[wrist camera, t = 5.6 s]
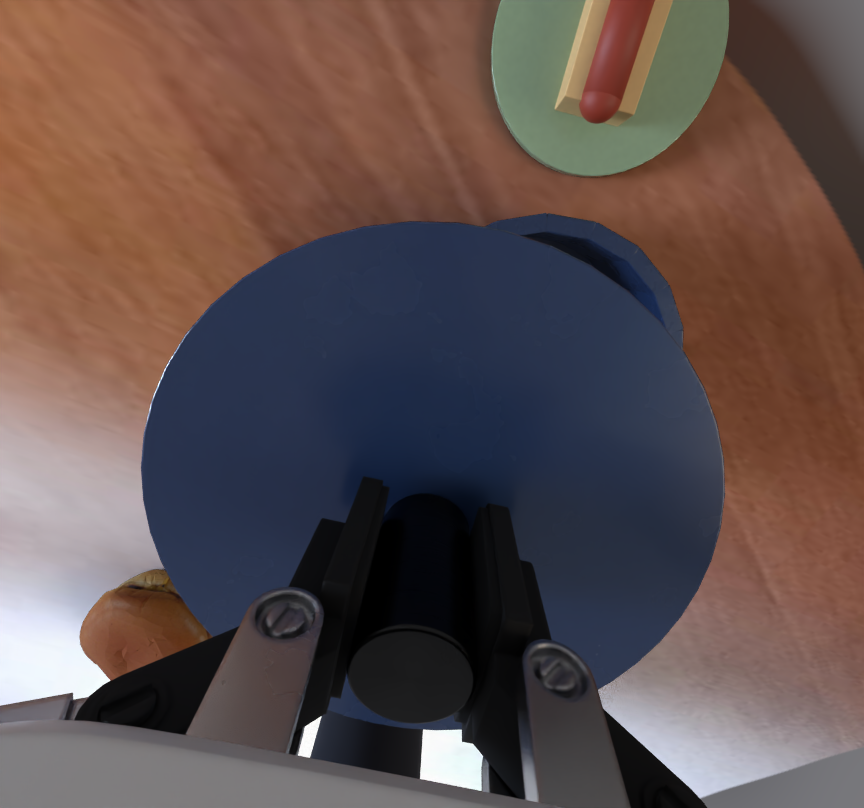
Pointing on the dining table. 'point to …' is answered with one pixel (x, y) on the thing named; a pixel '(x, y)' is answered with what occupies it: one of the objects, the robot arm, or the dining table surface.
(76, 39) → the dining table surface
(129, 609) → the burger
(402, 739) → the black bottle
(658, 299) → the pot
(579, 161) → the plate
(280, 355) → the pot lid
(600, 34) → the hot dog
